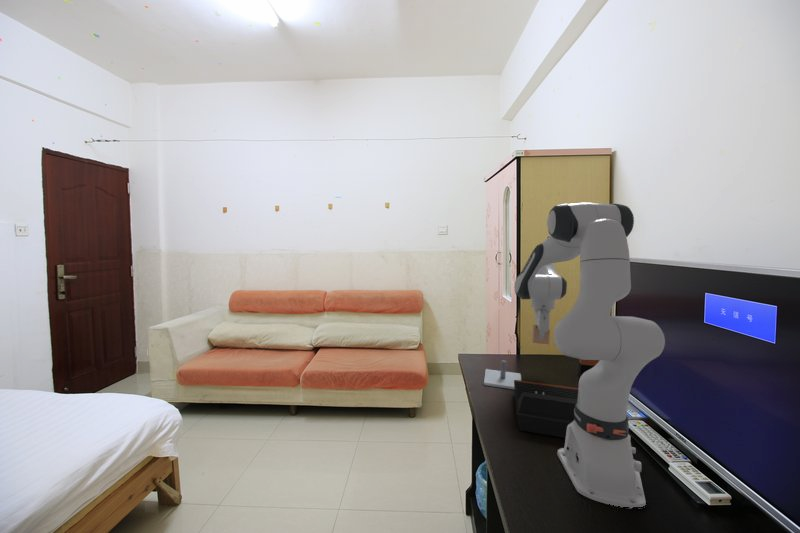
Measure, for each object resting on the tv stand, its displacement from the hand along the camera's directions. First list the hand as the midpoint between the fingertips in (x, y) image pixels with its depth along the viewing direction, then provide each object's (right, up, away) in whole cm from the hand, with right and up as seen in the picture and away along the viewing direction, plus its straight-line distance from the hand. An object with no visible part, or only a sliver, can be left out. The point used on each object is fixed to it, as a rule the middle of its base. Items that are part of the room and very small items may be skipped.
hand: (540, 336), depth 144 cm
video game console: (-6, -21, -31) cm, 38 cm away
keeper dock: (-17, -17, -3) cm, 24 cm away
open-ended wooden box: (0, -2, 0) cm, 2 cm away
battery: (+21, -17, +2) cm, 27 cm away
